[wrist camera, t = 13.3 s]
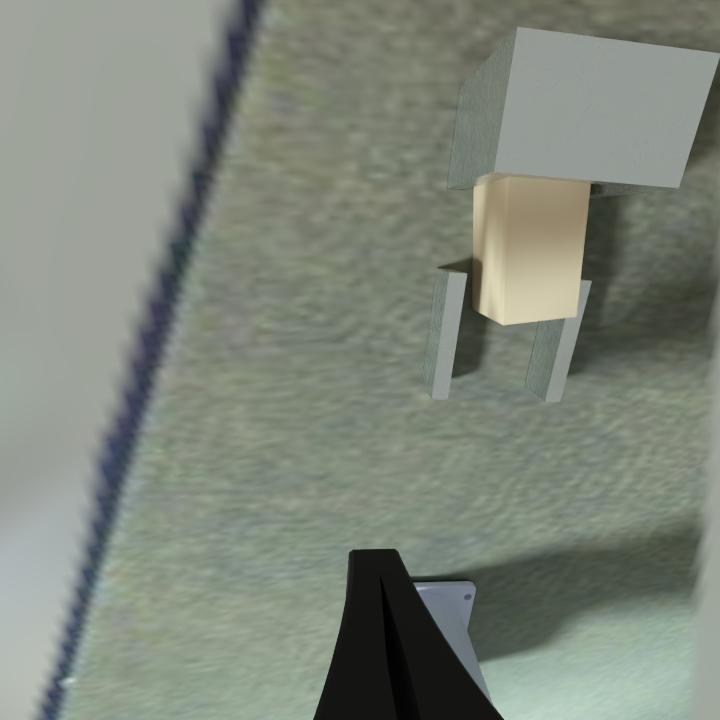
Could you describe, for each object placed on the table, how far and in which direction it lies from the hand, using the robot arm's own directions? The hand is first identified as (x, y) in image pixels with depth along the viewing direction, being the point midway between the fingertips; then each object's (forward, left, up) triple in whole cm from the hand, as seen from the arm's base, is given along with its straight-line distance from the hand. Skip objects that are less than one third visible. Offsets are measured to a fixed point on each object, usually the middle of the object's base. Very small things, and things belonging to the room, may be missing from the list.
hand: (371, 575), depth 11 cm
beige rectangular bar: (+10, -7, -10) cm, 16 cm away
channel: (+5, -7, -10) cm, 13 cm away
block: (+13, -7, -10) cm, 18 cm away
